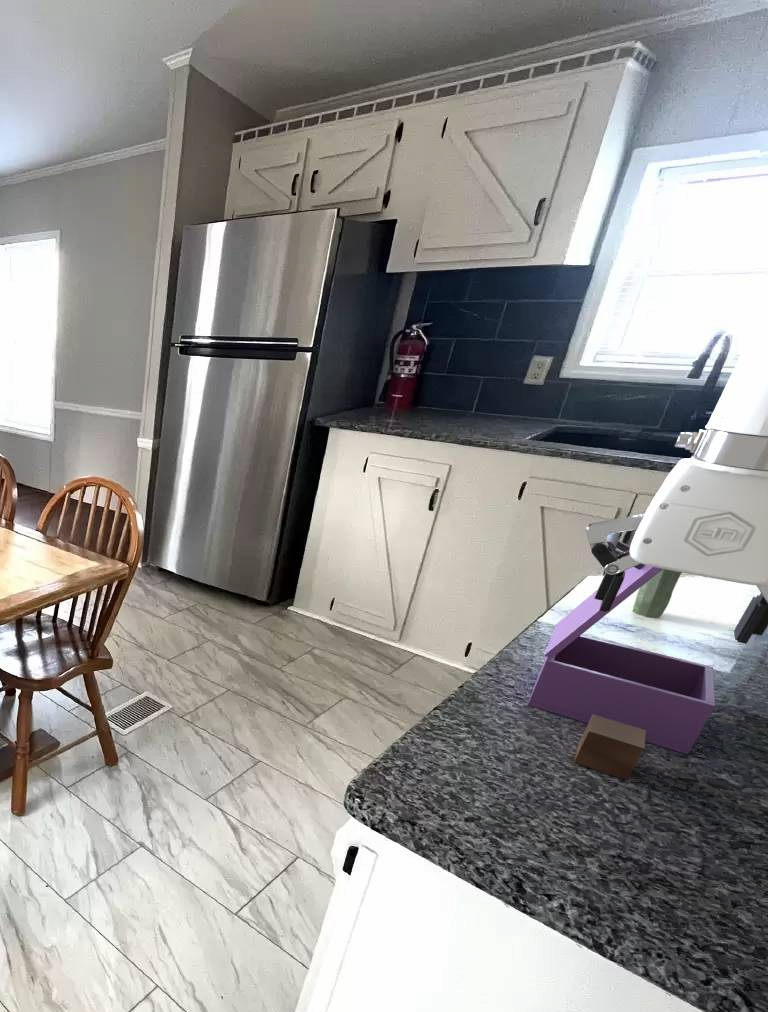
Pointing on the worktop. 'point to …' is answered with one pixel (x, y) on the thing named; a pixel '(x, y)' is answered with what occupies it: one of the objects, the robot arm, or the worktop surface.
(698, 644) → the worktop surface
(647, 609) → the vegetable
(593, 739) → the block
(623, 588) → the lid
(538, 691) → the document box
